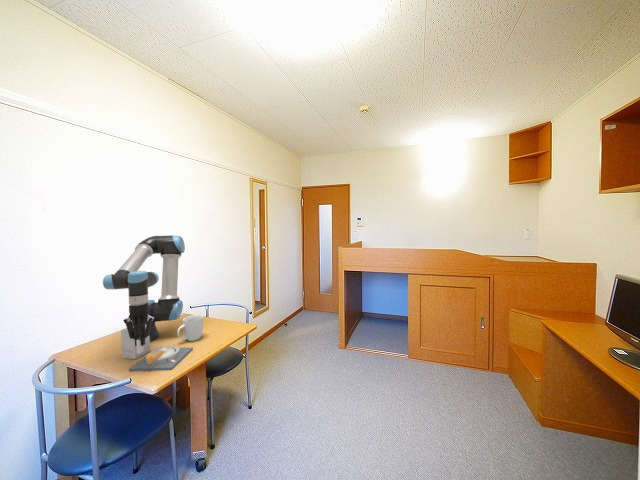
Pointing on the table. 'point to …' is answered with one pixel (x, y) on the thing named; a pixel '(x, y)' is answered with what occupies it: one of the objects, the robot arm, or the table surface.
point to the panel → (161, 366)
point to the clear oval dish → (159, 354)
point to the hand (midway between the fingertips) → (140, 352)
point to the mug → (192, 327)
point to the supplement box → (132, 345)
